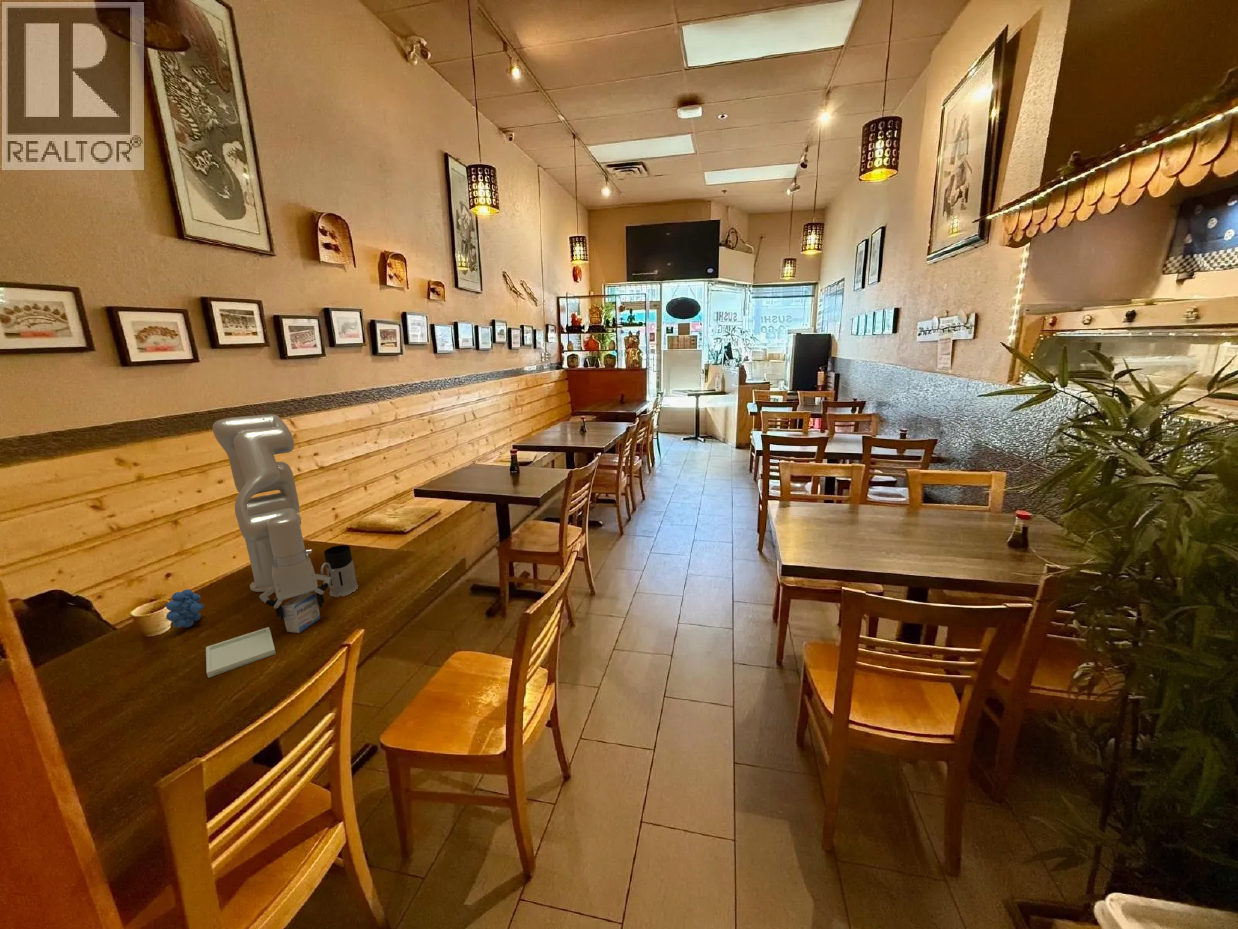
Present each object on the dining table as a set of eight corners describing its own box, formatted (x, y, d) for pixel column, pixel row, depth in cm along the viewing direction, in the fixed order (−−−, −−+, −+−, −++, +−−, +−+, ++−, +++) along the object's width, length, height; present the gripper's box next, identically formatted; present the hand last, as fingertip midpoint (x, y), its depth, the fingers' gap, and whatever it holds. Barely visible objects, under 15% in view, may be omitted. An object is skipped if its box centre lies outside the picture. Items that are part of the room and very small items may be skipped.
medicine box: (299, 633, 135) (293, 607, 133) (286, 632, 136) (280, 605, 134) (321, 618, 143) (316, 593, 141) (308, 617, 144) (303, 591, 141)
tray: (207, 651, 128) (205, 647, 127) (270, 631, 136) (269, 626, 136) (208, 678, 117) (206, 672, 117) (275, 654, 126) (274, 649, 126)
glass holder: (363, 583, 163) (357, 543, 160) (341, 605, 150) (334, 562, 146) (338, 584, 163) (331, 544, 160) (313, 606, 150) (305, 563, 146)
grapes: (190, 637, 134) (180, 599, 131) (164, 639, 134) (153, 601, 131) (219, 614, 146) (210, 579, 143) (195, 616, 145) (186, 581, 142)
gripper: (322, 545, 142) (332, 596, 146) (251, 563, 131) (264, 618, 135) (327, 553, 137) (337, 605, 141) (253, 572, 126) (267, 628, 130)
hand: (301, 611), depth 138 cm, fingers open, 9 cm apart
